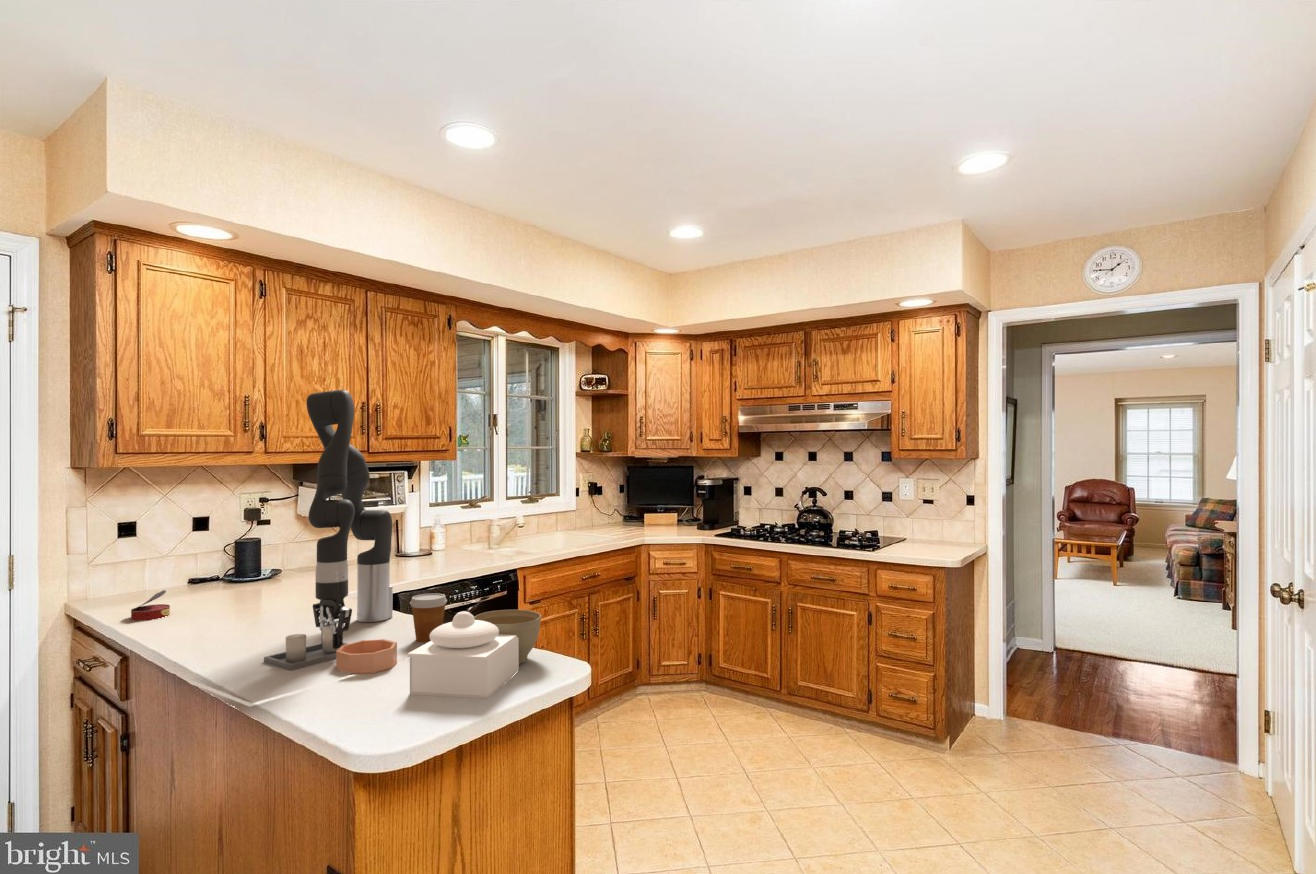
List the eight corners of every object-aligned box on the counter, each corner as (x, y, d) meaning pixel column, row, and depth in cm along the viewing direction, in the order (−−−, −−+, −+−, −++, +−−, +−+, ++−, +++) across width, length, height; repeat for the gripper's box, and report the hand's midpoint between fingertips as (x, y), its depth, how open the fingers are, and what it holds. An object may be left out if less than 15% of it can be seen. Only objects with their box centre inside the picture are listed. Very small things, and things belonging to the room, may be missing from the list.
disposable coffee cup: (412, 648, 182) (412, 601, 182) (407, 639, 190) (407, 595, 190) (450, 643, 186) (450, 598, 186) (443, 635, 194) (443, 591, 195)
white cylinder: (335, 646, 179) (335, 623, 179) (345, 649, 177) (345, 625, 177) (318, 650, 176) (318, 626, 176) (328, 653, 173) (328, 629, 173)
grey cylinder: (299, 657, 172) (299, 633, 172) (309, 660, 169) (309, 635, 169) (281, 662, 168) (282, 637, 168) (291, 665, 166) (291, 639, 166)
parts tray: (334, 646, 183) (334, 640, 183) (361, 654, 176) (361, 647, 176) (263, 664, 168) (263, 657, 168) (290, 673, 161) (290, 665, 162)
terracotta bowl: (375, 654, 176) (375, 636, 176) (408, 663, 169) (408, 644, 169) (325, 668, 165) (325, 649, 165) (358, 678, 158) (358, 658, 158)
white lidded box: (518, 673, 161) (518, 603, 162) (486, 700, 144) (486, 622, 144) (447, 669, 164) (447, 601, 165) (407, 695, 147) (407, 619, 147)
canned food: (147, 636, 213) (131, 610, 209) (131, 628, 218) (115, 603, 214) (184, 612, 222) (169, 587, 217) (168, 605, 227) (153, 581, 222)
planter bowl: (538, 670, 163) (538, 623, 163) (467, 672, 161) (467, 625, 162) (543, 650, 179) (543, 608, 179) (479, 652, 177) (479, 609, 178)
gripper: (362, 579, 176) (362, 647, 175) (329, 573, 184) (329, 639, 183) (334, 584, 169) (334, 654, 169) (302, 578, 177) (301, 645, 177)
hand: (331, 646), depth 176 cm, fingers closed on white cylinder, 4 cm apart
